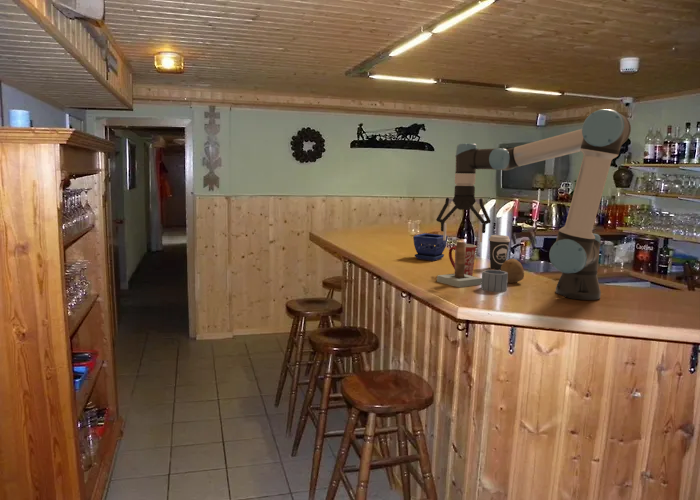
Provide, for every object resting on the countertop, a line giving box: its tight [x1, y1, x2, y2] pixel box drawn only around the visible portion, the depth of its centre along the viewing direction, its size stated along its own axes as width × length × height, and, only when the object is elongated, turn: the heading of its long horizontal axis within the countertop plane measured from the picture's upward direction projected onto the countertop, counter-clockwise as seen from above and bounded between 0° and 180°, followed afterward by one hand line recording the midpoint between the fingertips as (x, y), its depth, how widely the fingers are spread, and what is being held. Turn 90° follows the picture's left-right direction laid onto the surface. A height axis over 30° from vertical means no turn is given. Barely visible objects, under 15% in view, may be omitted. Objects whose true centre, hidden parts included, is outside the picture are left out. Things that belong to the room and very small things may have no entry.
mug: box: [448, 243, 478, 276], centre depth 227 cm, size 13×9×14 cm
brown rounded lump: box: [500, 258, 525, 284], centre depth 216 cm, size 9×9×10 cm
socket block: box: [436, 273, 482, 288], centre depth 211 cm, size 12×12×3 cm
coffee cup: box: [488, 234, 511, 271], centre depth 249 cm, size 10×10×15 cm
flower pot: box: [413, 232, 448, 262], centre depth 271 cm, size 13×13×12 cm
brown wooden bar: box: [454, 241, 467, 279], centre depth 210 cm, size 4×4×16 cm
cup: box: [480, 269, 508, 293], centre depth 202 cm, size 9×9×7 cm
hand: (462, 241), depth 209 cm, fingers open, 13 cm apart
